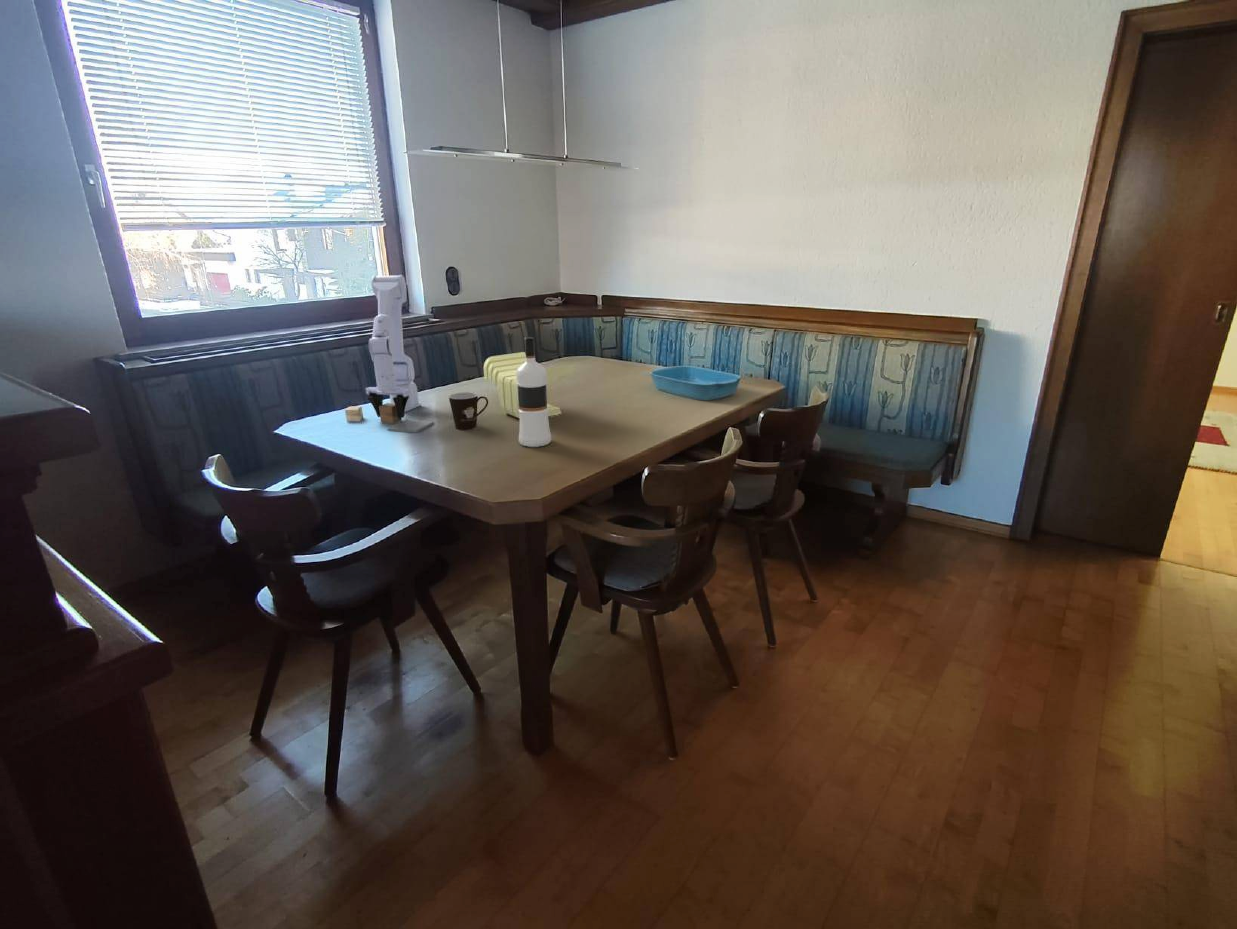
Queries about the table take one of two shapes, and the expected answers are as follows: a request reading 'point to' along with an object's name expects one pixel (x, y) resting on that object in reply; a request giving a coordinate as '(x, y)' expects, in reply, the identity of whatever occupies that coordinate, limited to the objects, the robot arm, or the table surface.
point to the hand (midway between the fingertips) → (390, 417)
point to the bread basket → (506, 381)
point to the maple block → (354, 413)
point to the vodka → (532, 400)
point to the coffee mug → (465, 409)
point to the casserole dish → (695, 382)
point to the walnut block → (388, 413)
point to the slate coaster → (411, 426)
